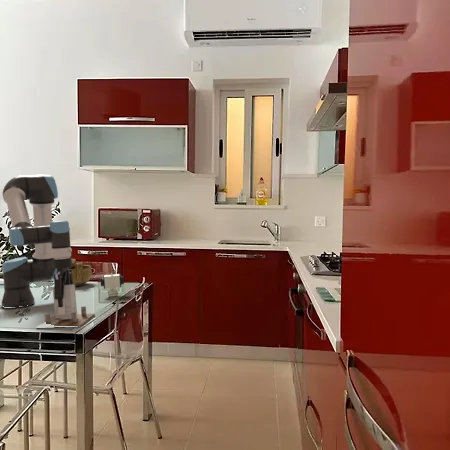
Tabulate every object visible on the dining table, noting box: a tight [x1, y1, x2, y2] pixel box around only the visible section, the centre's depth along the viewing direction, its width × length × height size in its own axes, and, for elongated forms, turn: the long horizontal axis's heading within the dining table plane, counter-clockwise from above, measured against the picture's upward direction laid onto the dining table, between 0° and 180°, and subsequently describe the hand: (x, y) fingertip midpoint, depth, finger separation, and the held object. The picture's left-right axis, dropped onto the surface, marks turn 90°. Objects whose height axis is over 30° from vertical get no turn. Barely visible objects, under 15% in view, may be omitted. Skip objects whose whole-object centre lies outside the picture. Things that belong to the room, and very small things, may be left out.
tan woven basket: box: [68, 258, 93, 287], centre depth 286 cm, size 22×17×15 cm
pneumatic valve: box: [99, 272, 125, 298], centre depth 250 cm, size 6×12×12 cm, turn 103°
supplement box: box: [52, 284, 78, 318], centre depth 200 cm, size 7×7×13 cm
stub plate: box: [43, 305, 96, 327], centre depth 200 cm, size 18×18×5 cm
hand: (66, 311), depth 200 cm, fingers closed on supplement box, 8 cm apart
